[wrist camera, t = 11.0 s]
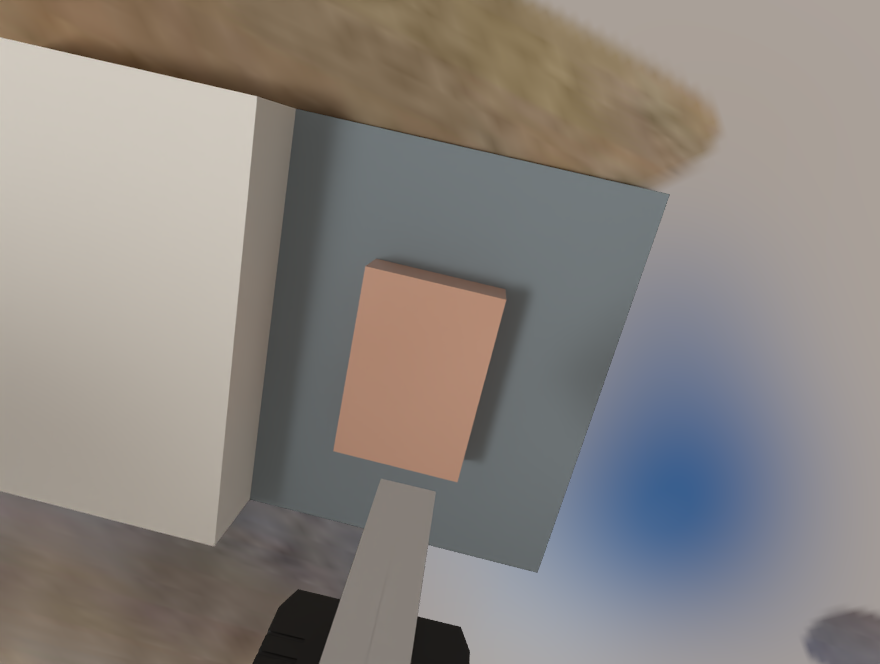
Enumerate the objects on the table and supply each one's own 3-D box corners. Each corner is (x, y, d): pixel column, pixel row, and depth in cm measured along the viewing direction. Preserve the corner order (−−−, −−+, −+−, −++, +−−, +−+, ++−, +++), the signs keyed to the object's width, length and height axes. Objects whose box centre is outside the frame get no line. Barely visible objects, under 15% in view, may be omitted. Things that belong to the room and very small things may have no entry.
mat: (536, 568, 28) (537, 572, 27) (252, 495, 28) (249, 499, 28) (667, 194, 21) (669, 194, 21) (298, 109, 22) (295, 108, 22)
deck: (252, 495, 28) (214, 546, 24) (45, 443, 29) (-24, 484, 25) (298, 109, 22) (257, 96, 18) (32, 48, 22) (-62, 23, 18)
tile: (333, 451, 24) (344, 430, 26) (457, 482, 24) (460, 459, 26) (365, 266, 21) (376, 258, 23) (506, 299, 21) (505, 289, 23)
